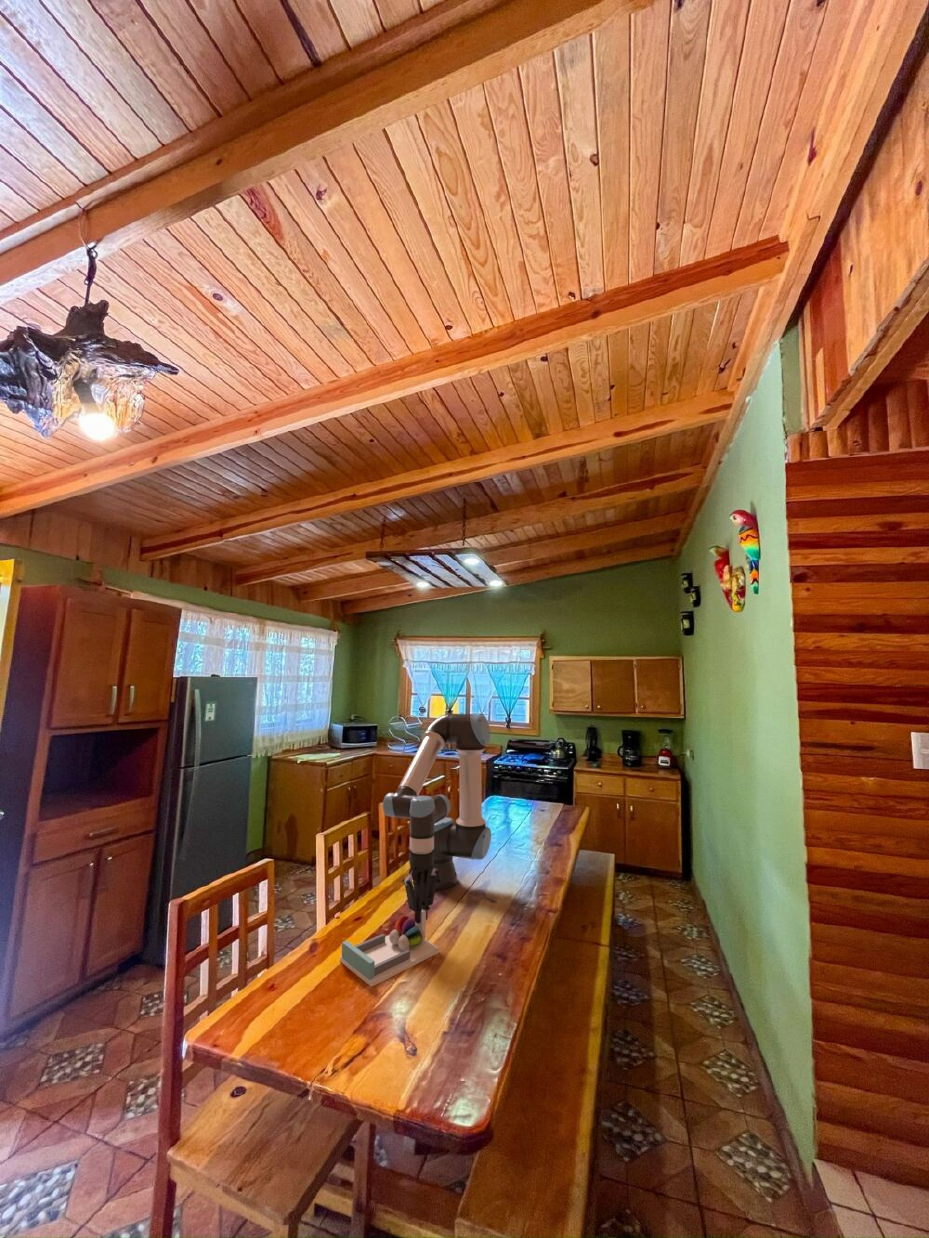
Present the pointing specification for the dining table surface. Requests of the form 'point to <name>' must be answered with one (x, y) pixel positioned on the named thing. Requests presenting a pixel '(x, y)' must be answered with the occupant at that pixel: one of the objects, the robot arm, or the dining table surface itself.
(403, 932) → the multicolored rounded lobe cluster
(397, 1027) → the dining table surface
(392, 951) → the board
